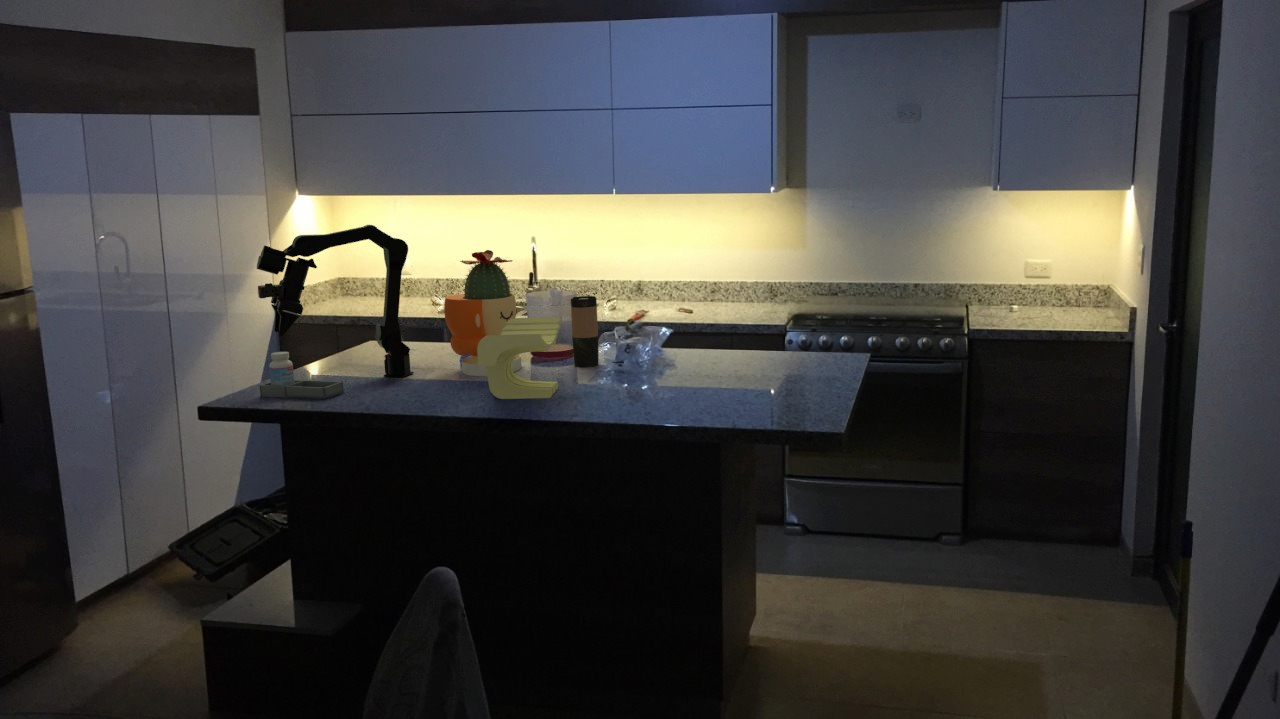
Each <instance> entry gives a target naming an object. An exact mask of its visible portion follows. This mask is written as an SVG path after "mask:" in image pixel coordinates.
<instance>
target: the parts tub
mask: <svg viewBox="0 0 1280 719" xmlns="http://www.w3.org/2000/svg"><path fill="white" fill-rule="evenodd" d="M344 391H345V390H344V382H343V381H333V380H332V381H330V380H329V381H328V380H326V381H325V380H306V379H305V380H303V379H294V384H290V385H287V386H271V381H270V382H266V383H263V384H261V385H259V392H260V397H262V398H263V397H264V398H265V397H268V398H287V399H289V398H291V399H309V400H310V399H311V400H313V399H315V400H327V399H329V398H332V397H335V396H339V395H340V394H341V395H342V394H344V393H345V392H344Z"/></svg>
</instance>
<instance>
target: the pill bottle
mask: <svg viewBox="0 0 1280 719" xmlns="http://www.w3.org/2000/svg"><path fill="white" fill-rule="evenodd" d="M270 356H271V357H270V359H271V360H272V361H271V362H270V363H269V365H268V366H269V378H270V380H269V381H270V382H271V386H287V385H290V384H294V380H295V377H294V376H295V375H294V373H295V372H294V364H293V362H292V361H291V360H289V359H290V352H289V351H275V352H271V354H270Z"/></svg>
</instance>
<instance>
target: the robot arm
mask: <svg viewBox="0 0 1280 719" xmlns="http://www.w3.org/2000/svg"><path fill="white" fill-rule="evenodd" d="M366 240H369V241H371V242H372V243H374V244H375V245H376V246H378V247H379V248H381V249H383V250H382V252H383V257H384V264H385V268H386V271H385V272H386V274H385V289H384V302H383V316H382V321H381V322H380V323H375V335H374V338H375V339H376V343H377V344H378V345H379V347H381V348H382V349H384V351H385V353H386V354H385V355H384V358H385V359H384V360H383V361H384V362H383V364H384V374H383V377H384V378H385V377H386V378H387V377H389V378H404V377H408V376H410V375H413V374H414V371H411V358H410V350H411V348H410V347H409V346H408V345H406V344H405V343H404V342H403V341H402V334H401V333H402V332H401V327H400V322H399V312H400V311H399V309H400V297H401V284H402V272H403V269H404V266H405V264H406V260H407V258H408V253H409V246H408V243H407V242H406V241H405V240H404V239H401V238H397V237H392V236H391V235H389V234H388V233H386V232H384V231H382V230H381V229H379V228H377V226H375V225H373V224H366V225H364V226H359V227H354V228H350V229H345V230H340V231H334V232H330V233H325V234H299V235H297V236H295V237H294V238H293V240H292V244H291V245H289V246H288V247H286V248H284V249H283V250H280V249H276V248H273V247H271V246H268V245H263V247H262V250H261V252H260V255H259V256H258V259H257V263H256V270H259V271H262V272H267V273H270V274H273V275H276V276H277V275H279V273H283V272H284V275H283V278H282V279H280V281H279V284H272V282H270V283H267V282H266V283H265V284H264V285H263V284H262V285H257V294H258V298H259V299H267V298H271V299H270V303H271V305H270V306H271V307H272V309H273V310H274V332H275V333H278V336H279V337H284V335H285V334H286V333H287V332H288V331H289V329H290V328H291V327H292V325H294V323H295V322H296V321H297V320H298V319H299V318H300V317H301V315H303V311H304V307H303V305H302V304H301V300H300V299H301V296H302V293H303V291H304V290H305V282H306V281H307V279H306V278H307V276H308V271H309V268H313V269H317V268H318V265H316V263H315V260H314V258H309V257H311V256H314V255H316V254H318V253H321V252H323V251H325V250H327V249H330V248H333V247H338V246H343V245H348V244H352V243H358V242H362V241H366ZM298 256H301V257H298ZM288 257H291V258H294V257H297V258H296V260H295V259H291V258H288ZM302 257H304V258H302ZM306 257H307V258H309V259H305V258H306ZM286 264H287V265H286Z"/></svg>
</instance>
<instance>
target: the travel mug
mask: <svg viewBox="0 0 1280 719" xmlns="http://www.w3.org/2000/svg"><path fill="white" fill-rule="evenodd" d="M570 309H571V310H570V312H571V316H570V318H571V336H572V338H571V340H572V351H573V363H574V364H573V365H574V366H575V367H577V368H593V367H597V366H598V365H599V325H598V322H599V321H598V306H597V297H596V296H593V295H586V296H585V295H583V296H574V297H572V298H570Z"/></svg>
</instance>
